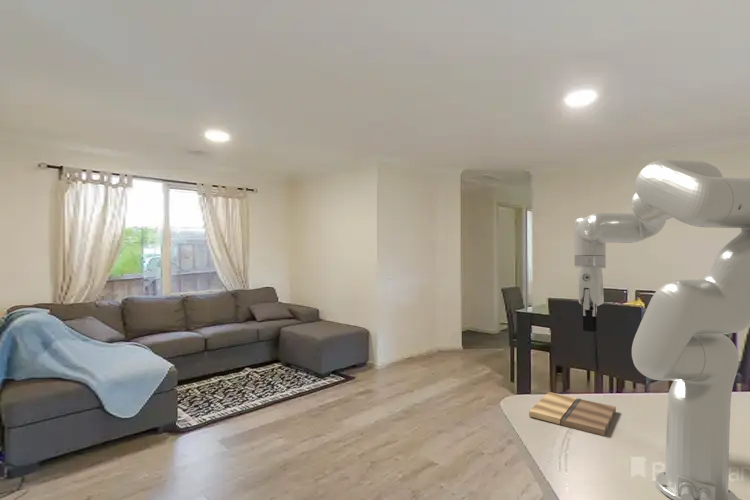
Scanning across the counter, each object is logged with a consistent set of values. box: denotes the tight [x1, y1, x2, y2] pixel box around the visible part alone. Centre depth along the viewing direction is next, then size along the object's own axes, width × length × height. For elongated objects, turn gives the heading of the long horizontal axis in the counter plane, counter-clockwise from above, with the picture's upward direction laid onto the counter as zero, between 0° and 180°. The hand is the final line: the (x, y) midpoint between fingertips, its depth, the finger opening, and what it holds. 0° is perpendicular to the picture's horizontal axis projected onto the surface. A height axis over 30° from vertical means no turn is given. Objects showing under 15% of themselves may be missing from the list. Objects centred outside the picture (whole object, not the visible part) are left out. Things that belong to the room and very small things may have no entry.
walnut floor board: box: [560, 398, 617, 437], centre depth 116 cm, size 20×10×2 cm, turn 143°
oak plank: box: [528, 391, 578, 425], centre depth 122 cm, size 20×8×2 cm, turn 143°
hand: (590, 330), depth 113 cm, fingers closed
